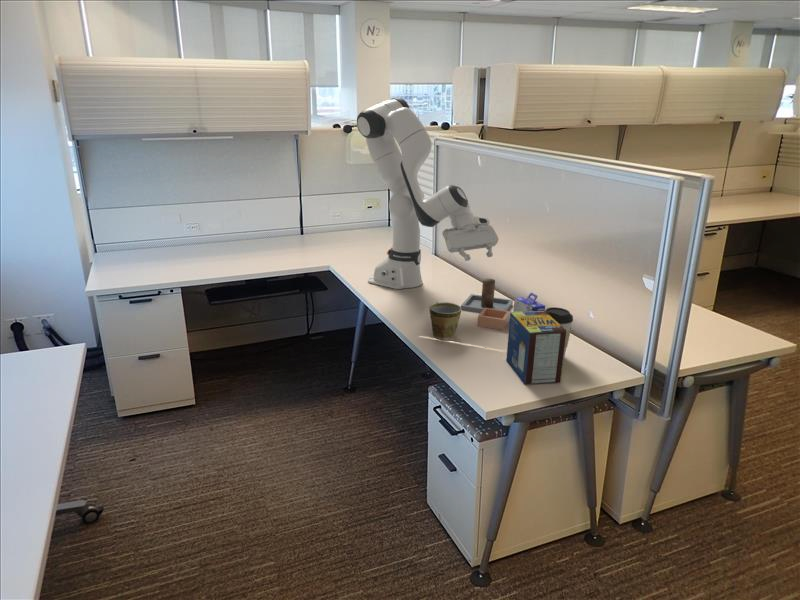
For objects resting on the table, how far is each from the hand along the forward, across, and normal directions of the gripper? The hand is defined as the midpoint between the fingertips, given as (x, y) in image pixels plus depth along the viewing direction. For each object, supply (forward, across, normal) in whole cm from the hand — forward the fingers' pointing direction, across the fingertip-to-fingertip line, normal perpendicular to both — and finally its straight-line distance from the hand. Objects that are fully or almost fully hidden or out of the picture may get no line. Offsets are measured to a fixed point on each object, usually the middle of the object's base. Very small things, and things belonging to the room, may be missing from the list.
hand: (479, 258), depth 205 cm
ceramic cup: (+26, -26, -1) cm, 37 cm away
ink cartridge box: (+36, -2, -8) cm, 37 cm away
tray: (+15, +1, +10) cm, 19 cm away
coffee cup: (+47, -3, -19) cm, 51 cm away
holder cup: (+26, -6, 0) cm, 26 cm away
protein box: (+50, -15, -23) cm, 57 cm away
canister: (+15, +1, +10) cm, 18 cm away
